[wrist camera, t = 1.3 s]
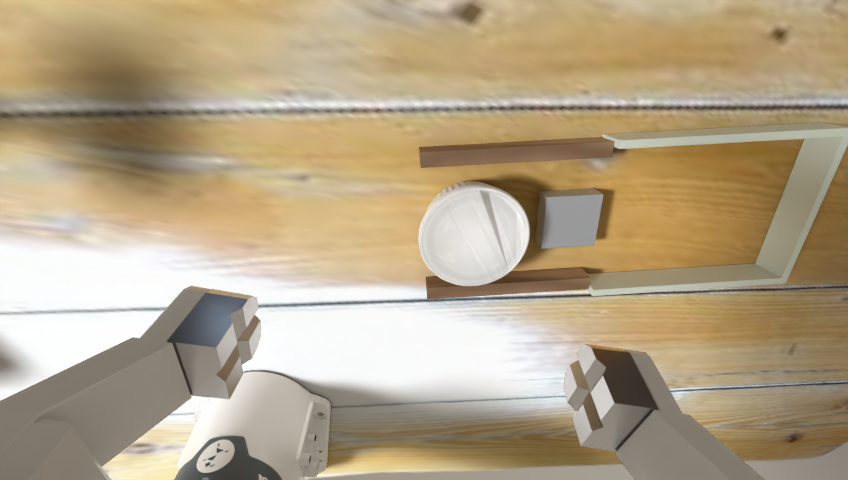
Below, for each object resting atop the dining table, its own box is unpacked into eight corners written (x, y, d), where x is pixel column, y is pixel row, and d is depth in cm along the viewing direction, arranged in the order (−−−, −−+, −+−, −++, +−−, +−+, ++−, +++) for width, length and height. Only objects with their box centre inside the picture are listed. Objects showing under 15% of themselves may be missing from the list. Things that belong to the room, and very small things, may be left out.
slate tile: (584, 236, 43) (594, 245, 41) (534, 239, 43) (541, 248, 41) (592, 187, 41) (603, 194, 38) (539, 190, 40) (547, 197, 38)
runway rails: (579, 277, 45) (588, 288, 43) (426, 287, 45) (427, 299, 42) (602, 137, 38) (614, 141, 36) (419, 147, 37) (420, 152, 35)
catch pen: (759, 268, 46) (785, 283, 43) (579, 279, 45) (592, 295, 42) (818, 122, 38) (855, 127, 35) (602, 134, 38) (620, 140, 35)
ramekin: (536, 209, 41) (553, 228, 36) (473, 279, 45) (481, 304, 40) (459, 150, 38) (467, 163, 33) (398, 231, 42) (397, 252, 37)
